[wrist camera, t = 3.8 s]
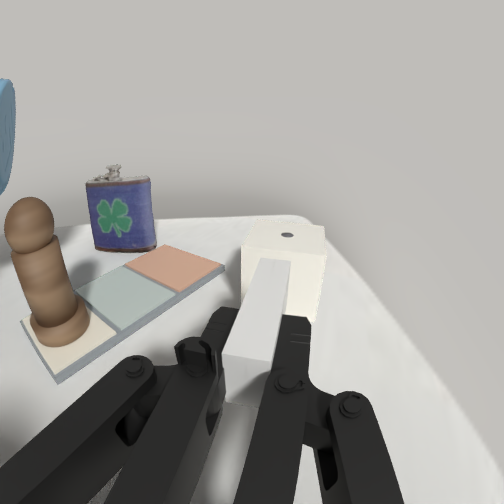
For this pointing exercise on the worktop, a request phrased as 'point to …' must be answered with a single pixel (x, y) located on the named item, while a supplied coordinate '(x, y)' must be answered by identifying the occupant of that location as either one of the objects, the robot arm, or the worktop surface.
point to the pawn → (44, 274)
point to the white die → (291, 249)
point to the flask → (121, 212)
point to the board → (126, 304)
